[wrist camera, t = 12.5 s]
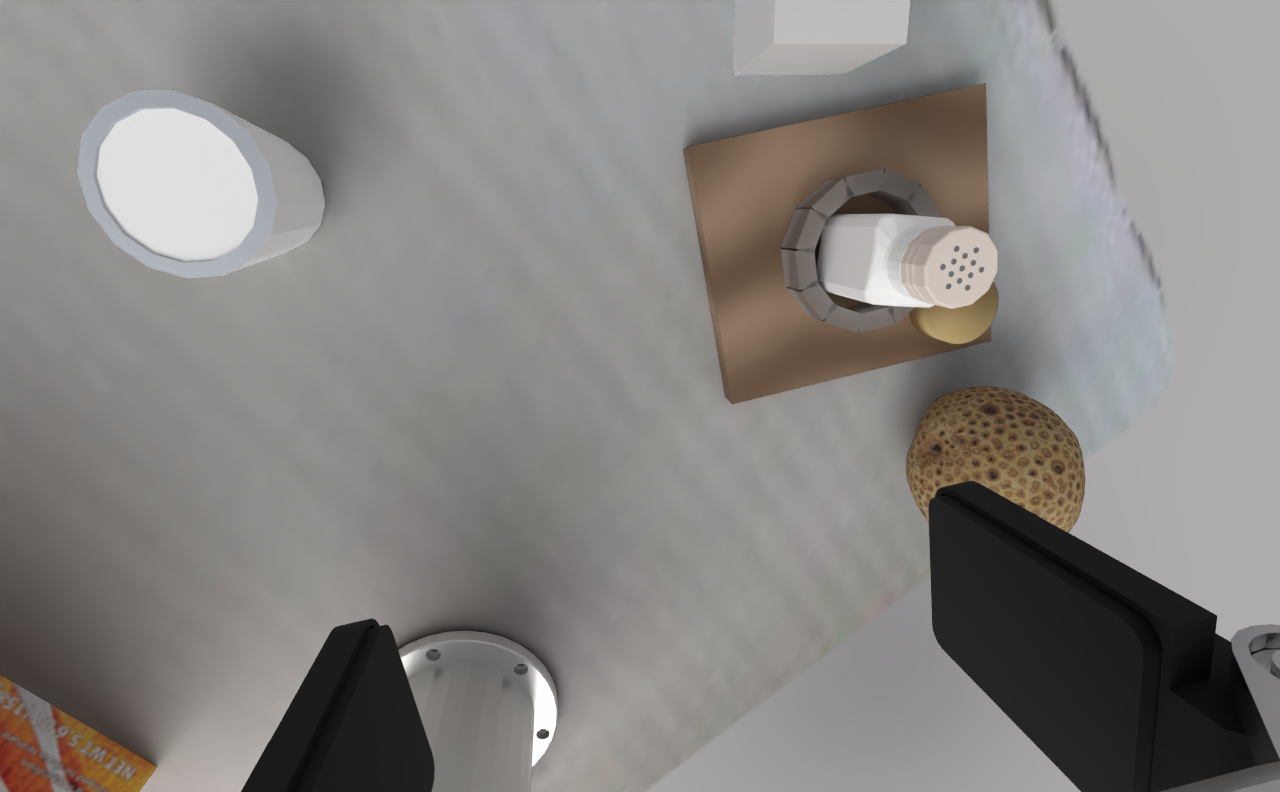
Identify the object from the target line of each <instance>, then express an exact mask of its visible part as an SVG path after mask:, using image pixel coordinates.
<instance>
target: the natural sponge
mask: <svg viewBox="0 0 1280 792" xmlns="http://www.w3.org/2000/svg"><path fill="white" fill-rule="evenodd" d="M906 475H907V480H908V483H909V487H910V490H911V492H912V495H913V497H914V499H915V502H916V504H917V506H918V507H919V509H920V511H921V512H922V514H923V515H924V517H925V518H926V520H927V521H928V523H929V502H930V500H931V499H932V498H934V497H935V494H936V492H937V490H938V489H939V488H941V487H945V486H949V485H954V484H958V483H962V482H967V481H975V482H978V483H980V484H981V485H983V486H985V487H987V488H988V489H990V490H992V491H994V492H996V493H997V494H999V495H1001V496H1003V497H1005V498H1006V499H1008V500H1010V501H1012V502H1014V503H1015V504H1017V505H1019V506H1021V507H1023V508H1024V509H1026V510H1028V511H1030V512H1032V513H1033V514H1035V515H1037V516H1039V517H1041V518H1042V519H1044V520H1046V521H1048V522H1050V523H1051V524H1053V525H1055V526H1057V527H1059V528H1060V529H1062V530H1064V531H1066V532H1068V533H1069V531H1070V530H1071V529H1072V527H1073V526H1074V525H1075V523H1076V521H1077V519H1078V517H1079V514H1080V512H1081V507H1082V502H1083V497H1084V489H1085V472H1084V462H1083V457H1082V451H1081V448H1080V445H1079V442H1078V440H1077V438H1076V436H1075V434H1074V433H1073V431H1072V430H1071V429H1069V428H1068V426H1067V425H1066V423H1065V422H1064V421H1063V420H1062V419H1061V418H1060V417H1059V416H1058V415H1057V414H1056V413H1055V412H1054V411H1052V410H1051V409H1050V408H1048V407H1046V406H1045V405H1043V404H1041V403H1040V402H1038V401H1036V400H1034V399H1031V398H1029V397H1028V396H1026V395H1023V394H1021V393H1018V392H1015V391H1011V390H1007V389H1003V388H997V387H973V388H967V389H962V390H958V391H955V392H952V393H950V394H947V395H944V396H942V397H940V398H939V399H937V400H936V401H935V402H934V403H932V404H931V405H930V407H929V408H928V409H927V411H926V412H925V414H924V415H923V417H922V419H921V421H920V423H919V426H918V429H917V432H916V434H915V436H914V439H913V442H912V444H911V446H910V449H909V451H908V454H907V460H906Z"/></svg>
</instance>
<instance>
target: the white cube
mask: <svg viewBox="0 0 1280 792" xmlns="http://www.w3.org/2000/svg"><path fill="white" fill-rule="evenodd" d="M909 11H910V0H734V76H783V75H844V74H846V73H848V72H850V71H852V70H854V69H857V68H859V67H861V66H863V65H865V64H867V63H869V62H871V61H873V60H875V59H877V58H879V57H881V56H883V55H885V54H887V53H889V52H891V51H893V50H895V49H897V48H899V47H901V46H903V45H905V44H907V35H908V23H909Z"/></svg>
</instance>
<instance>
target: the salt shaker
mask: <svg viewBox="0 0 1280 792" xmlns="http://www.w3.org/2000/svg"><path fill="white" fill-rule="evenodd" d="M816 271H817V280H818V283H819V284H820V286H821V287H822V288H823V290H824V291H825V292H829V293H833V294H836V295H840V296H844V297H847V298H851V299H855V300H858V301H862V302H866V303H869V304H873V305H885V306H900V307H925V308H929V307H932V306H934V305H937V306H942V307H946V308H951V309H954V308H958V307H963V306H967V305H971V304H973V303H974V302H975V301H976V300H978V299H979V298H980V297H981V296H982V295H984V294H985V293H986V292H987V291H988V290H989V288H990V286H991V284H992V282H993V280H994V278H995V275H996V273H997V271H998V250H997V248H996V246H995V245H994V243H993V241H992V240H991V238H990V236H989V235H988V233H985V232H983V231H981V230H978V229H976V228H973V227H971V226H955V224H954V223H953V222H952V221H951V220H949V219H948V218H939V217H928V216H916V215H902V214H835V215H833V216H830V217H829V218H827V219H826V222H825V224H824V227H823V229H822V234H821V241H820V248H819V254H818V261H817V268H816Z"/></svg>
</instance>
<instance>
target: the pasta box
mask: <svg viewBox="0 0 1280 792" xmlns="http://www.w3.org/2000/svg"><path fill="white" fill-rule="evenodd" d="M156 768H157V767H156V766H155V765H153V764H151V763H150V762H148V761H146V760H144V759H143V758H141V757H139V756H138V755H136V754H134V753H132V752H131V751H129V750H127V749H126V748H124V747H122V746H121V745H119V744H117V743H115V742H114V741H112V740H110V739H109V738H107V737H105V736H104V735H102V734H100V733H98V732H97V731H95V730H93V729H92V728H90V727H88V726H86V725H85V724H83V723H81V722H80V721H78V720H76V719H75V718H73V717H71V716H69V715H68V714H66V713H64V712H63V711H61V710H59V709H58V708H56V707H54V706H52V705H51V704H49V703H47V702H46V701H44V700H42V699H41V698H39V697H37V696H35V695H34V694H32V693H30V692H29V691H27V690H25V689H23V688H22V687H20V686H18V685H17V684H15V683H13V682H12V681H10V680H8V679H6V678H5V677H3V676H1V675H0V792H139V791H140V790H141V789H142V787H143V786H144V785H145V783H146V782H147V780H148V779H149V778H150V776H151V775H152V774H153V772H154V771H155V769H156Z"/></svg>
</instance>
